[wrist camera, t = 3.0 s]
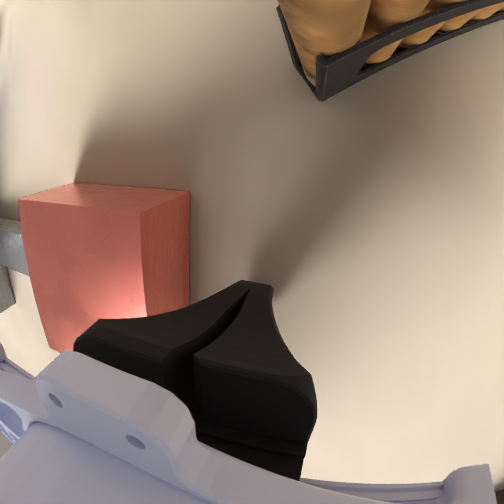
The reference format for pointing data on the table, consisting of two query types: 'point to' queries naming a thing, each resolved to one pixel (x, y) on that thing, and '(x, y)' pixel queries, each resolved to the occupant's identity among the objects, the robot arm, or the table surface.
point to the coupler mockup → (10, 258)
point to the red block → (104, 255)
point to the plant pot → (500, 497)
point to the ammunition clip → (371, 34)
